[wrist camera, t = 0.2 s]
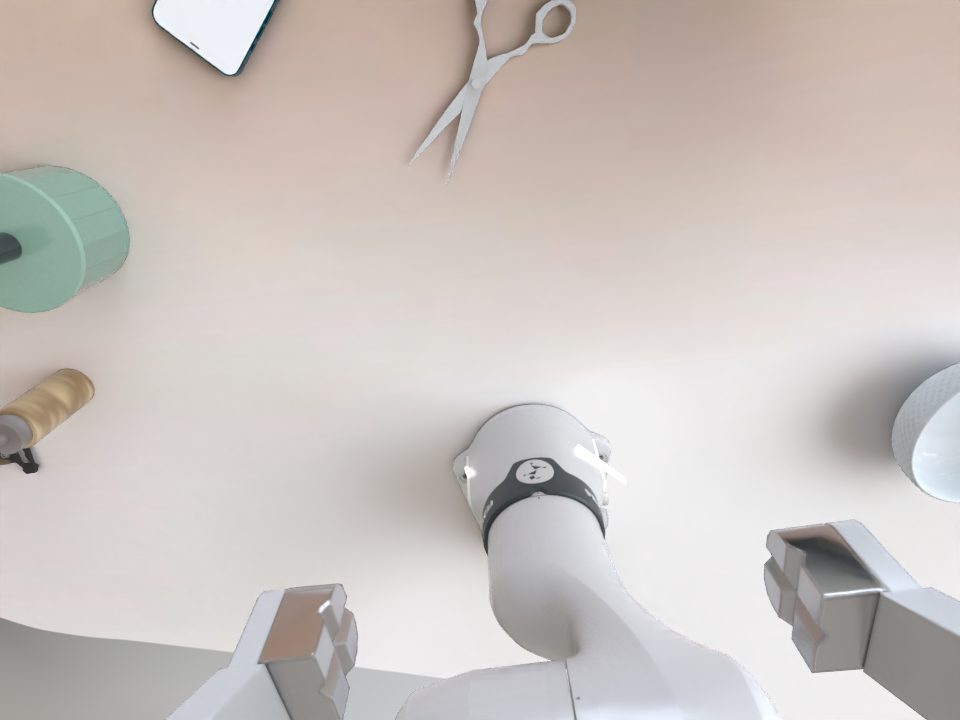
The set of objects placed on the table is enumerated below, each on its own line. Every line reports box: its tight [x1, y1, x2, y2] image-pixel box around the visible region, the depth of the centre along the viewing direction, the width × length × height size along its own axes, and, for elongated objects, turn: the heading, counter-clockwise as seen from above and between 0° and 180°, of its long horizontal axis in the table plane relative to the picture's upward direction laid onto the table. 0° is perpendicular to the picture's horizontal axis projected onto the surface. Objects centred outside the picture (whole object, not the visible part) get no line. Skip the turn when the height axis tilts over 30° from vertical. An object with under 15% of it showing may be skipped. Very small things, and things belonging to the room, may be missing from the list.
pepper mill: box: [0, 369, 94, 454], centre depth 57 cm, size 4×4×11 cm
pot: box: [5, 166, 129, 294], centre depth 51 cm, size 11×11×8 cm
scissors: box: [407, 0, 576, 187], centre depth 49 cm, size 11×1×20 cm
